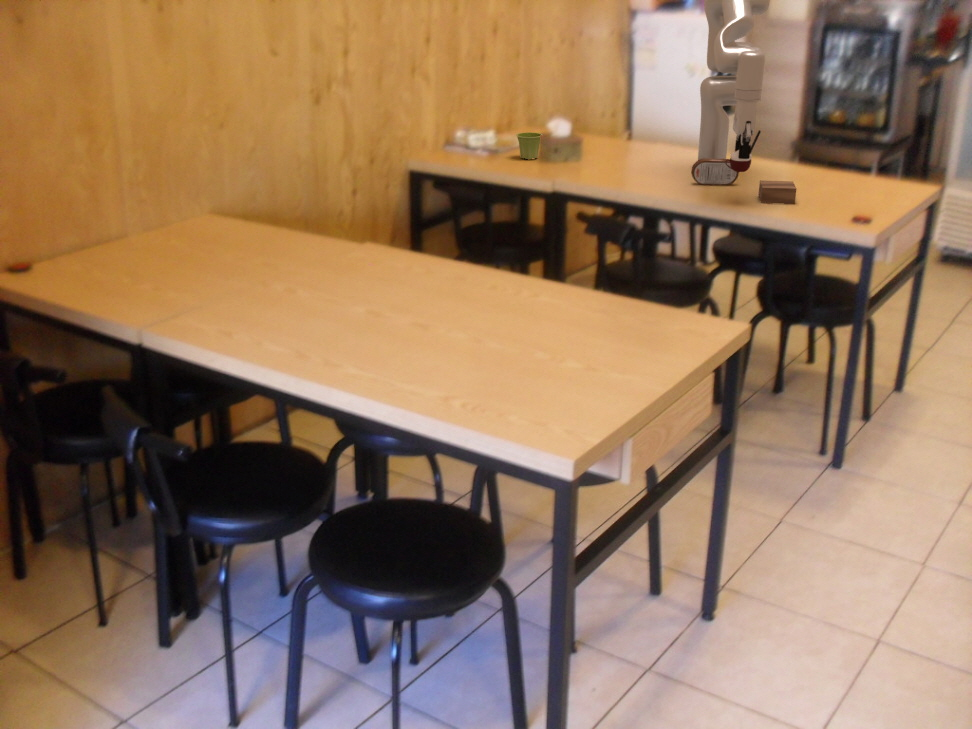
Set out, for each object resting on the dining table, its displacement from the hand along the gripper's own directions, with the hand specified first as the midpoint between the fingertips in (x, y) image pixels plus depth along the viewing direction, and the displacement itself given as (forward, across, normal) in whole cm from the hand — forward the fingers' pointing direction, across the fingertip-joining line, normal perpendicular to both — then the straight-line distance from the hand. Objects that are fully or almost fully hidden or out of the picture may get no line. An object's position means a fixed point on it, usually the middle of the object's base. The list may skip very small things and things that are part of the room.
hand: (742, 155), depth 311 cm
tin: (+15, -22, -4) cm, 27 cm away
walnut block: (+14, -2, +12) cm, 19 cm away
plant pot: (+16, -62, -65) cm, 91 cm away
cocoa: (+5, 0, 0) cm, 5 cm away
